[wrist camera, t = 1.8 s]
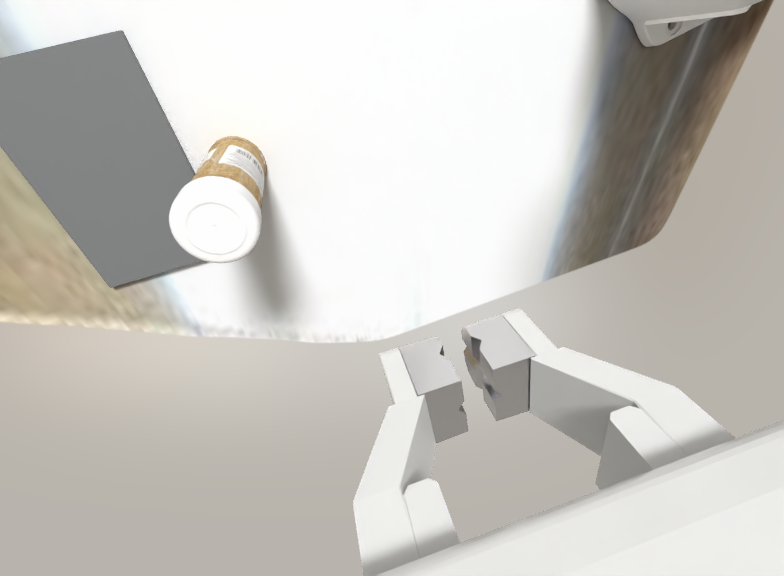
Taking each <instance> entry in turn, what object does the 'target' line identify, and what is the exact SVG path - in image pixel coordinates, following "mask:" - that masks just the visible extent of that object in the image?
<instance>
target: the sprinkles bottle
mask: <svg viewBox="0 0 784 576" xmlns="http://www.w3.org/2000/svg"><path fill="white" fill-rule="evenodd" d="M265 174H266V162H265V158H264V156H263V155H262V153H261V151H260V150H259V149H258V147H257V146H256V145H254V144H253V143H252V142H250V141H248V140H247V139H244V138H240V137H237V136H236V137H232V136H231V137H224V138H222V139H220V140H218V141H217V142H216V143H215V144H213V146H212V147H211V148H210V150H209V152H208V154H207V156H206V157H205V158H204V160H203V161H202V163H201V165H200V166H199V168H198V170H197V173H196V174H195V176H194V178H193V179H192V181H191V182H189V183H188V184H186V185H185V186H184V187H183V188H182V189H181V191H180V192H179V193H178V195H177V196H176V198H175V200H174V202H173V204H172V206H171V209H170V213H169V225H170V229H171V232H172V234H173V236H174V238H175V240H176V241H177V242H178V244H179V245H180V246H181V247H182V248H183V249H184V250H185V251H187V252H188V253H189V254H191V255H193V256H194V257H196V258H199V259H201V260H204V261H208V262H213V263H227V262H232V261H236V260H239V259H241V258H243V257H244V256H246V255H247V254H248V253H249V252H250V251H252V249H253V248H254V247H255V245H256V243H257V241H258V239H259V235H260V231H261V223H262V215H261V210H260V209H261V206H262V199H263V190H264V178H265Z"/></svg>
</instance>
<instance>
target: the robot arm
mask: <svg viewBox="0 0 784 576" xmlns="http://www.w3.org/2000/svg"><path fill="white" fill-rule="evenodd" d="M608 1H609V2H610V3H611V4H612V5H613V6H614V7H615V8H616V9H617V10H618V11H620V12H621V13H623V14H624V15H625V16H627V17H628V18H629V19H630V20H631V21H632V22H633V25H634V28H635V30H636V33H637V35H638V38H639V40H640V41H641V43H642V44H643V45H644V46H646V47H652V46H658V45H661V44H663V43H665V42H667V41H669V40H671V39H673V38H675V37H677V36H679V35H681V34H683V33H685V32H687V31H689V30H691V29H693V28H695V27H697V26H699V25H701V24H703V23H705V22H707V21H709V20H711V19H713V18H715V17H721V16H729V15H736V14H741V13H744V12H746V11H748V9H749V8H750V7H751V5H753V4H755V3H758V2H760V1H762V0H608ZM669 22H670V24H669V27H668V23H669ZM461 332H462V339H463V340H464V342H465V344H466V345H467V347H466V349H465V350H464V356H465V361H466V365H467V367H468V371H469V373H470V375H471V377H472V380H473V381H474V383H475V385H476V386H477V387H479V388H481V389H483V394H484V401H485V402H486V404H487V406H488V408H489V409H490V411H491V413H492V414H493V416H494V418H495V419H496V421H498V420H501V419H505V418H508V417H511V416H514V415H517V414H520V413H523V412H527V411H530V413H532V414H533V415H535V416H537V417H538V418H540V419H541V420H543V421H545V422H546V423H548V424H549V425H551V426H553V427H554V428H556V429H558V430H559V431H561V432H562V433H564V434H566V435H567V436H569V437H571V438H572V439H574V440H576V441H577V442H579V443H580V444H582V445H584V446H585V447H587V448H588V449H590V450H592V451H593V452H595V453H597V454H598V455H600V456H601V460H600V465H599V469H598V474H597V479H596V485H597V486H598V487H599V489H600V490H599V491H596V492H593V493H591V494H588V495H585V496H583V497H580V498H577V499H575V500H572V501H570V502H567V503H564V504H562V505H559V506H556V507H554V508H551V509H549V510H546V511H543V512H541V513H538V514H535V515H533V516H530V517H527V518H525V519H522V520H520V521H517V522H514V523H512V524H509V525H506V526H504V527H501V528H498V529H496V530H493V531H491V532H488V533H485V534H483V535H480V536H478V537H475V538H472V539H470V540H467V541H464V542H462V543H460V542H459V539H458V536H457V533H456V531H455V528H454V525H453V523H452V520H451V517H450V515H449V512H448V509H447V507H446V504H445V501H444V498H443V496H442V493H441V490H440V488H439V485H438V482H436V481H434V480H431V474H432V468H433V462H434V456H435V451H436V443H439V442H441V441H444V440H446V439H449V438H452V437H454V436H457V435H459V434H462V433H464V432H467V431H468V426H467V418H466V413H465V411H464V409H463V407H462V403H463V402H464V396H463V389H462V383H461V379H460V377H459V375H458V374H457V372H456V370H455V368H454V366H453V364H452V362H451V360H450V359H449V358H447V357H444V351H443V346H442V344H441V342H440V340H439V338H438V337H437V336H434V337H430V338H427V339H424V340H420V341H417V342H414V343H410V344H407V345H404V346H400V347H399V349H398V348H395V349H392V350H388V351H385V352H381V353H379V358H380V362H381V365H382V368H383V371H384V375H385V378H386V381H387V384H388V387H389V390H390V394H391V397H392V401H393V404H394V405H392V406H389V407H388V409H387V411H386V414H385V417H384V419H383V422H382V425H381V428H380V431H379V433H378V436H377V439H376V441H375V444H374V447H373V449H372V452H371V455H370V458H369V460H368V463H367V466H366V468H365V472H364V474H363V477H362V479H361V482H360V485H359V487H358V490H357V493H356V496H355V499H354V502H353V508H354V514H355V521H356V528H357V535H358V541H359V548H360V555H361V561H362V567H363V575H364V576H784V420H782V421H780V422H777V423H774V424H772V425H769V426H767V427H764V428H761V429H759V430H756V431H753V432H751V433H748V434H746V435H743V436H740V437H738V438H735V437H734V436H732V435H731V434H730V433H729V432H728V431H727V430H726V429H724V428H723V427H722V426H721V425H720V424H719V423H717V422H716V421H715V420H714V419H713V418H711V417H710V416H709V415H708V414H707V413H706V412H705V411H703V410H702V409H701V408H700V407H699V406H698V405H696V404H695V403H694V402H693V401H692V400H691V399H689V398H688V397H687V396H686V395H685V394H684V393H682V392H681V391H680V390H679V389H678V388H677V387H674V386H672V385H668V384H666V383H663V382H660V381H658V380H655V379H652V378H649V377H646V376H644V375H641V374H638V373H635V372H632V371H630V370H626V369H624V368H621V367H618V366H615V365H613V364H610V363H607V362H604V361H601V360H599V359H596V358H593V357H591V356H588V355H585V354H582V353H579V352H577V351H574V350H571V349H568V348H565V347H562V348H559V349H558V348H557V347H556V346H555V345H554V344H553V343H552V342H551V341H550V340H549V339H548V337H547V336H546V335H545V334H544V333H543V332H542V331H541V330H540V329H539V328H538V327H537V326H536V325H535V324H534V322H533V321H532V320H531V319H530V318H529V317H528V316H527V315H526V314H525V313H524V312H523V311H522V310H521V309H519V308H516V309H514V310H511V311H508V312H505V313H502V314H499V315H496V316H493V317H491V318H487V319H484V320H482V321H478V322H475V323H473V324H470V325H467V326H464V327H462V331H461Z"/></svg>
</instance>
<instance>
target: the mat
mask: <svg viewBox="0 0 784 576" xmlns="http://www.w3.org/2000/svg"><path fill="white" fill-rule="evenodd" d="M0 146H1V148H2V149H3V150H4V152H5V153H6V154H7V155H8V157H9V158H10V159H11V161H12V162H13V163H14V164H15V166H16V167H17V168H18V170H19V171H20V172H21V174H22V175H23V176H24V177H25V179H26V180H27V181H28V183H29V184H30V185H31V186H32V188H33V189H34V190H35V192H36V193H37V194H38V195H39V197H40V198H41V199H42V201H43V202H44V203H45V204H46V206H47V207H48V208H49V210H50V211H51V212H52V213H53V215H54V216H55V217H56V219H57V220H58V221H59V223H60V224H61V225H62V226H63V228H64V229H65V230H66V232H67V233H68V234H69V235H70V237H71V238H72V239H73V241H74V242H75V243H76V244H77V246H78V247H79V248H80V250H81V251H82V252H83V253H84V255H85V256H86V257H87V259H88V260H89V261H90V262H91V264H92V265H93V266H94V268H95V269H96V270H97V272H98V273H99V274H100V275H101V277H102V278H103V279H104V281H105V282H106V283H107V284H108V286H109V287H110V288H111V287H115V286H118V285H122V284H125V283H129V282H132V281H135V280H139V279H142V278H146V277H149V276H153V275H156V274H159V273H163V272H166V271H170V270H173V269H176V268H180V267H183V266H187V265H190V264H194V263H197V262H200V261H204V260H201V259H199V258H196V257H194V256H193V255H191V254H189V253H188V252H187V251H185V250H184V249H183V248H182V247H181V246H180V245H179V244H178V242H177V241H176V240H175V238H174V236H173V234H172V232H171V229H170V225H169V213H170V209H171V206H172V204H173V202H174V200H175V198H176V196H177V195H178V193H179V192H180V191H181V189H182V188H183V187H184V186H185V185H186V184H188V183H189V182H191V181H192V179H193V178H194V176H195V173H194V171H193V169H192V167H191V165H190V163H189V161H188V159H187V157H186V155H185V153H184V151H183V149H182V147H181V145H180V143H179V141H178V139H177V137H176V135H175V133H174V131H173V129H172V127H171V125H170V123H169V121H168V119H167V117H166V115H165V113H164V111H163V109H162V107H161V105H160V103H159V102H158V100H157V98H156V96H155V94H154V92H153V90H152V88H151V86H150V84H149V82H148V80H147V78H146V76H145V74H144V72H143V70H142V68H141V66H140V64H139V62H138V60H137V58H136V56H135V54H134V52H133V50H132V48H131V46H130V44H129V42H128V40H127V38H126V36H125V34H124V32H123V31H116V32H111V33H107V34H103V35H99V36H94V37H90V38H86V39H81V40H77V41H73V42H68V43H64V44H60V45H56V46H51V47H47V48H43V49H38V50H34V51H30V52H25V53H21V54H17V55H12V56H8V57H4V58H0Z"/></svg>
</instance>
